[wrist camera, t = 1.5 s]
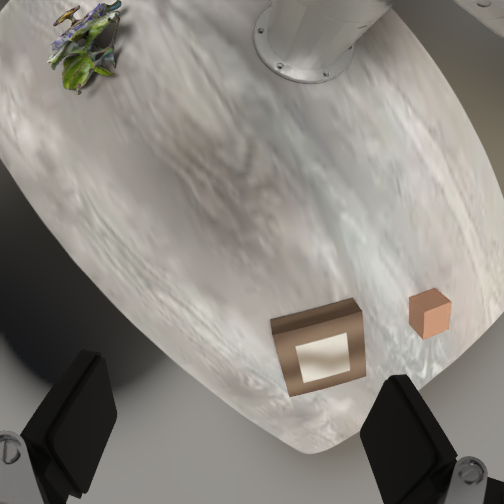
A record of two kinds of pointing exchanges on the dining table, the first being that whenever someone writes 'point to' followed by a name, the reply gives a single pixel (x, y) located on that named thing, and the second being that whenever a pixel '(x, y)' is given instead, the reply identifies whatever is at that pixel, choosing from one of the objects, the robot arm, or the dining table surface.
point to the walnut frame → (320, 346)
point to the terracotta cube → (429, 313)
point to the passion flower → (85, 60)
